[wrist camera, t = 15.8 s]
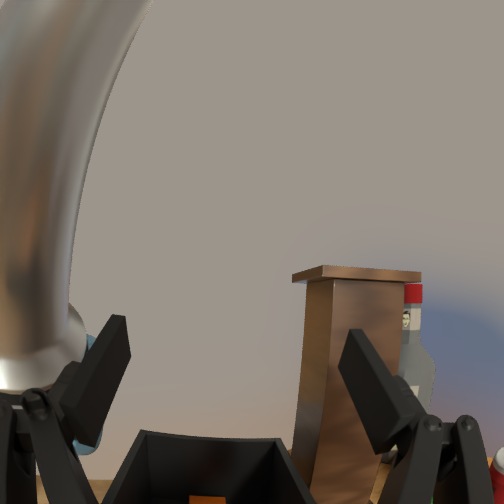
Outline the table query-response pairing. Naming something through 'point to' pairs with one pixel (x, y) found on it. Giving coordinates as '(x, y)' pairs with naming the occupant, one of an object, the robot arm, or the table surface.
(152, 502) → the dark grey open box
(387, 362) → the wooden pedestal column
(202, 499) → the orange bar
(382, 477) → the table surface
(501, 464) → the canned food
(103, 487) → the table surface
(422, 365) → the liquor
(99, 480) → the table surface
